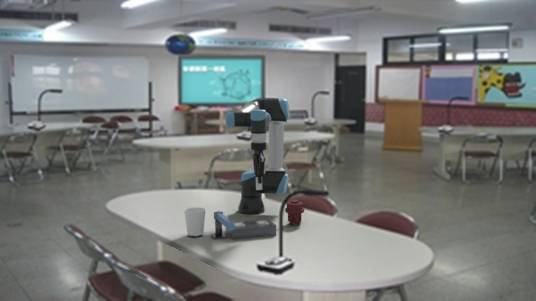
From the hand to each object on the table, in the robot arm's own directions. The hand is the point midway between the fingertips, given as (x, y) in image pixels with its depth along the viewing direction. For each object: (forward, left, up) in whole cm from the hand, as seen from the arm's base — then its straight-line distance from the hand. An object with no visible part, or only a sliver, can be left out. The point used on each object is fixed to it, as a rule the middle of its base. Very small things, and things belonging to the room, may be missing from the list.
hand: (259, 189), depth 265 cm
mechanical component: (-8, +22, -21) cm, 32 cm away
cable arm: (+13, -21, -12) cm, 27 cm away
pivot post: (+3, -21, -21) cm, 30 cm away
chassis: (+3, -5, -21) cm, 22 cm away
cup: (-4, -31, -21) cm, 38 cm away
